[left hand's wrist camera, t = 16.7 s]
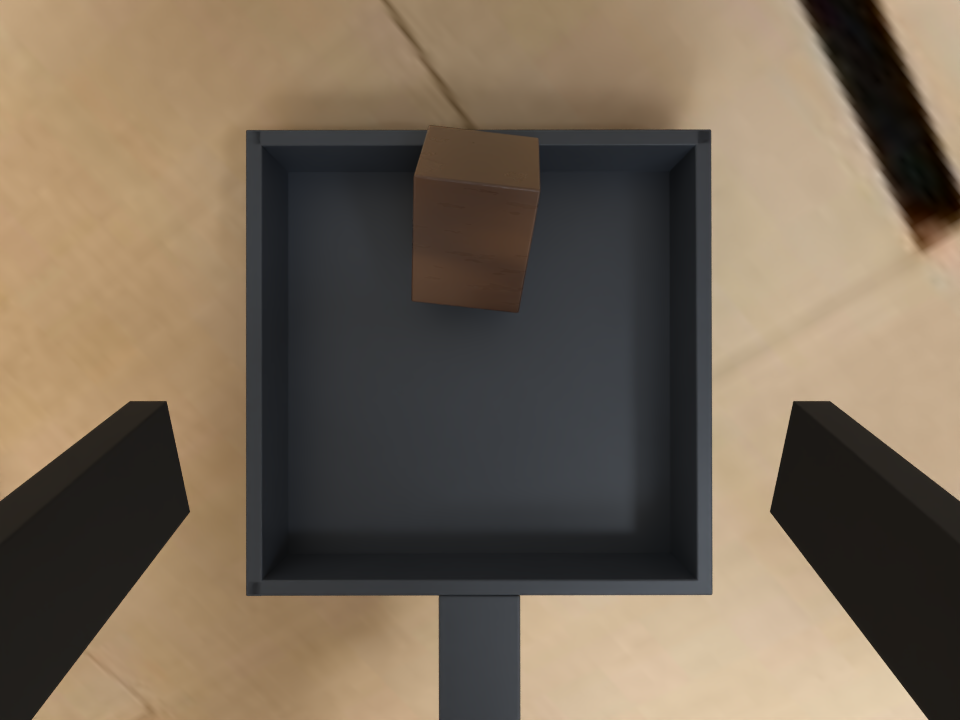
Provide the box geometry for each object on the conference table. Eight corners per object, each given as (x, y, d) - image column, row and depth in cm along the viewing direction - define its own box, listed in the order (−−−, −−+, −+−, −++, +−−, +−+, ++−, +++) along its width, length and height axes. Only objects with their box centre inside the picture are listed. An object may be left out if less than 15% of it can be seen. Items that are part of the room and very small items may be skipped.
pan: (679, 162, 25) (781, 59, 17) (680, 838, 25) (784, 1084, 17) (279, 162, 25) (176, 60, 17) (279, 838, 25) (175, 1084, 17)
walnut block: (519, 253, 25) (539, 137, 21) (518, 313, 22) (541, 190, 18) (424, 243, 25) (428, 124, 21) (411, 302, 22) (413, 175, 18)
